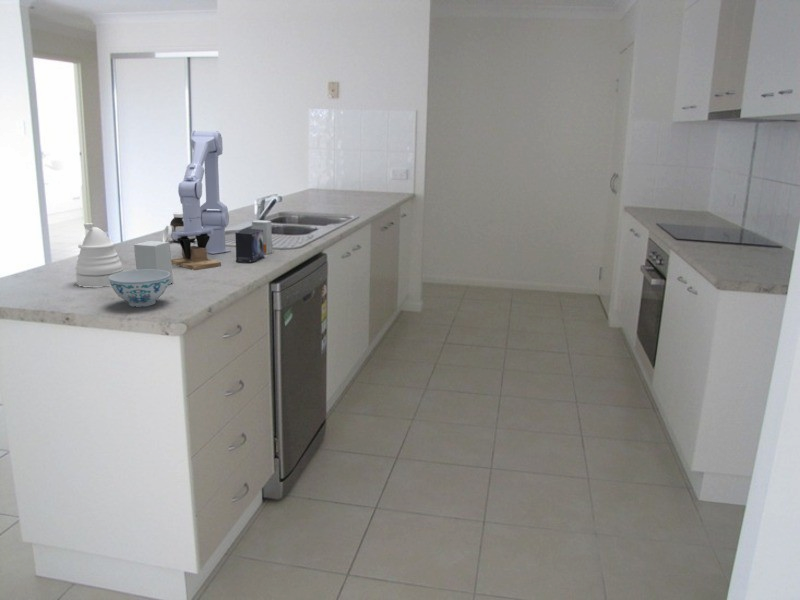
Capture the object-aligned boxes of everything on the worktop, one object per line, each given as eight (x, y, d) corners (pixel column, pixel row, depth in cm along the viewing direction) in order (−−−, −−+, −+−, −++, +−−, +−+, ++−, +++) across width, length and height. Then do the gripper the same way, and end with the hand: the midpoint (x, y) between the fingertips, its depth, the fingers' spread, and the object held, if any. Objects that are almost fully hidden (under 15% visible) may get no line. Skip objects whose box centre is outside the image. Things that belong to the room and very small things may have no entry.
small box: (253, 263, 228) (251, 233, 226) (235, 262, 230) (234, 232, 227) (265, 257, 238) (264, 228, 236) (248, 256, 240) (246, 228, 237)
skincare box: (252, 253, 246) (251, 221, 243) (258, 251, 250) (256, 219, 247) (267, 254, 244) (266, 222, 241) (272, 252, 248) (271, 220, 245)
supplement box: (174, 283, 199) (171, 241, 195) (157, 288, 192) (154, 245, 189) (153, 281, 201) (150, 240, 198) (136, 286, 194) (133, 243, 191)
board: (169, 263, 227) (168, 259, 227) (195, 259, 234) (195, 255, 234) (194, 270, 217) (194, 266, 216) (220, 265, 224) (220, 262, 223)
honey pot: (94, 289, 190) (87, 227, 185) (68, 283, 196) (60, 223, 192) (133, 281, 200) (127, 222, 196) (106, 276, 207) (101, 218, 202)
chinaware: (129, 295, 184) (126, 268, 182) (181, 297, 183) (179, 270, 181) (100, 309, 170) (97, 280, 168) (156, 312, 168) (154, 282, 166)
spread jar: (200, 241, 268) (198, 213, 265) (177, 245, 259) (175, 216, 256) (180, 238, 274) (178, 210, 271) (157, 242, 265) (155, 213, 262)
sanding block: (182, 260, 226) (181, 247, 225) (194, 258, 229) (193, 245, 228) (195, 263, 221) (194, 250, 220) (207, 261, 224) (206, 248, 223)
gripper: (178, 220, 213) (181, 262, 217) (217, 216, 224) (219, 256, 227) (167, 218, 218) (170, 258, 221) (206, 214, 228) (208, 253, 232)
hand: (194, 257), depth 225 cm, fingers closed on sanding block, 4 cm apart
